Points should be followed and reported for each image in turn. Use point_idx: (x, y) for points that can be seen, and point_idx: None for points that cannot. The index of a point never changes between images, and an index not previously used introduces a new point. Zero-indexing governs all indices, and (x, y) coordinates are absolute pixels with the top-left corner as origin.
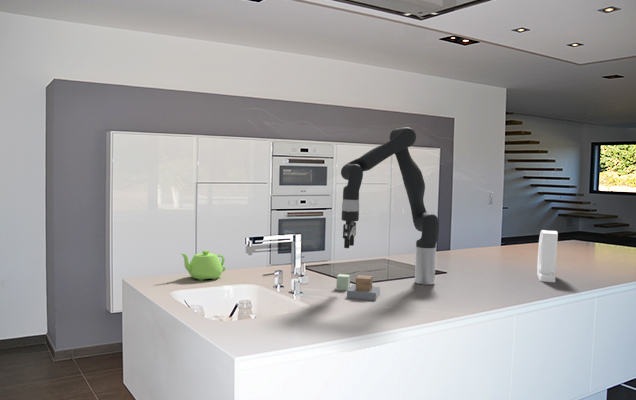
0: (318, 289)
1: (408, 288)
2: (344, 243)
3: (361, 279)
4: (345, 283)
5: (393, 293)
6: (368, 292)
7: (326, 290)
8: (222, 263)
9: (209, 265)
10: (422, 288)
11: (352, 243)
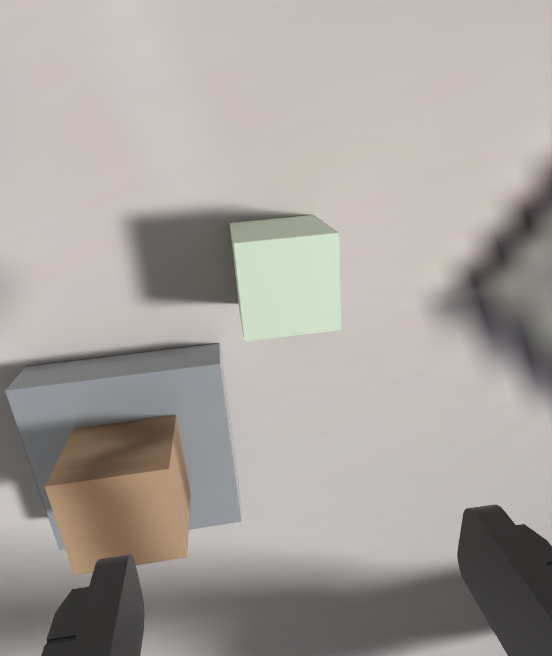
0: (157, 83)
1: (429, 562)
2: (78, 640)
3: (60, 516)
4: (239, 304)
5: (285, 538)
6: (48, 513)
7: (158, 161)
8: None
9: None
10: (450, 606)
11: (478, 587)
